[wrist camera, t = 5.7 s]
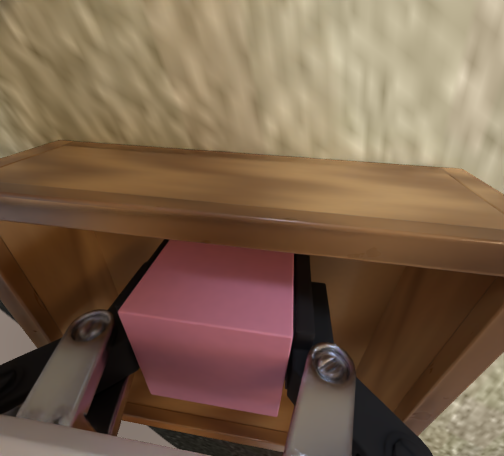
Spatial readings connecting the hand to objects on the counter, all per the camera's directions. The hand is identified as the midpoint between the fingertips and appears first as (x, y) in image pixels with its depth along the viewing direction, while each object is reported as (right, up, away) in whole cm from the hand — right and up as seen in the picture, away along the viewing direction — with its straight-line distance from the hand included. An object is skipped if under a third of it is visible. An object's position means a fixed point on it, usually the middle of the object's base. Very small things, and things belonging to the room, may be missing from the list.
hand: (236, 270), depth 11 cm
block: (0, 0, +1) cm, 1 cm away
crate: (0, -1, +2) cm, 2 cm away
